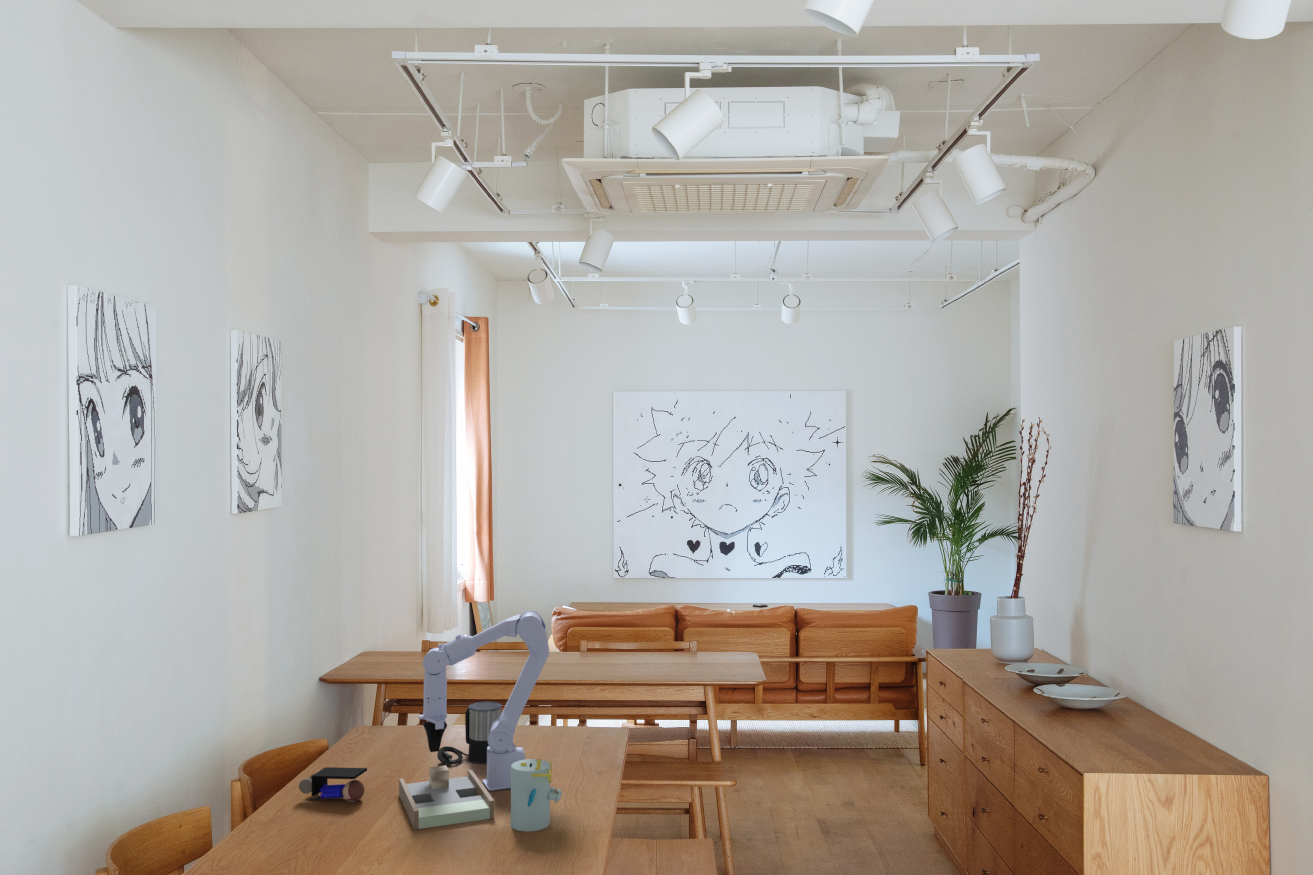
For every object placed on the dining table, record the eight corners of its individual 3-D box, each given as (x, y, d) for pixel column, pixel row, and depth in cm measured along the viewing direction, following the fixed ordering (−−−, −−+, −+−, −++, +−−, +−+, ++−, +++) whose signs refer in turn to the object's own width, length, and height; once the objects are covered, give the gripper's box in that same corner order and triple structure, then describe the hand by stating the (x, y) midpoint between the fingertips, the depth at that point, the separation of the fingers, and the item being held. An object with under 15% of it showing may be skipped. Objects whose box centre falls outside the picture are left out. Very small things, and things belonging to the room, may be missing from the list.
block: (445, 781, 229) (445, 765, 230) (448, 786, 226) (448, 769, 226) (429, 783, 228) (429, 767, 228) (432, 788, 224) (432, 771, 224)
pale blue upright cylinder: (561, 840, 199) (562, 777, 200) (507, 841, 198) (508, 778, 199) (561, 807, 219) (562, 749, 220) (512, 808, 218) (513, 750, 219)
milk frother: (508, 757, 258) (509, 704, 258) (468, 772, 244) (469, 716, 245) (470, 749, 265) (471, 697, 266) (430, 763, 252) (430, 708, 252)
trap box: (471, 785, 234) (472, 769, 234) (494, 817, 212) (494, 800, 212) (398, 794, 227) (399, 778, 227) (413, 829, 205) (414, 811, 205)
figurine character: (298, 808, 222) (356, 805, 219) (295, 776, 222) (353, 772, 219) (314, 798, 228) (370, 795, 226) (311, 767, 229) (368, 764, 226)
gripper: (414, 691, 239) (413, 744, 239) (423, 704, 226) (422, 760, 225) (442, 689, 242) (441, 741, 241) (452, 701, 229) (451, 757, 228)
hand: (434, 750), depth 234 cm, fingers closed
